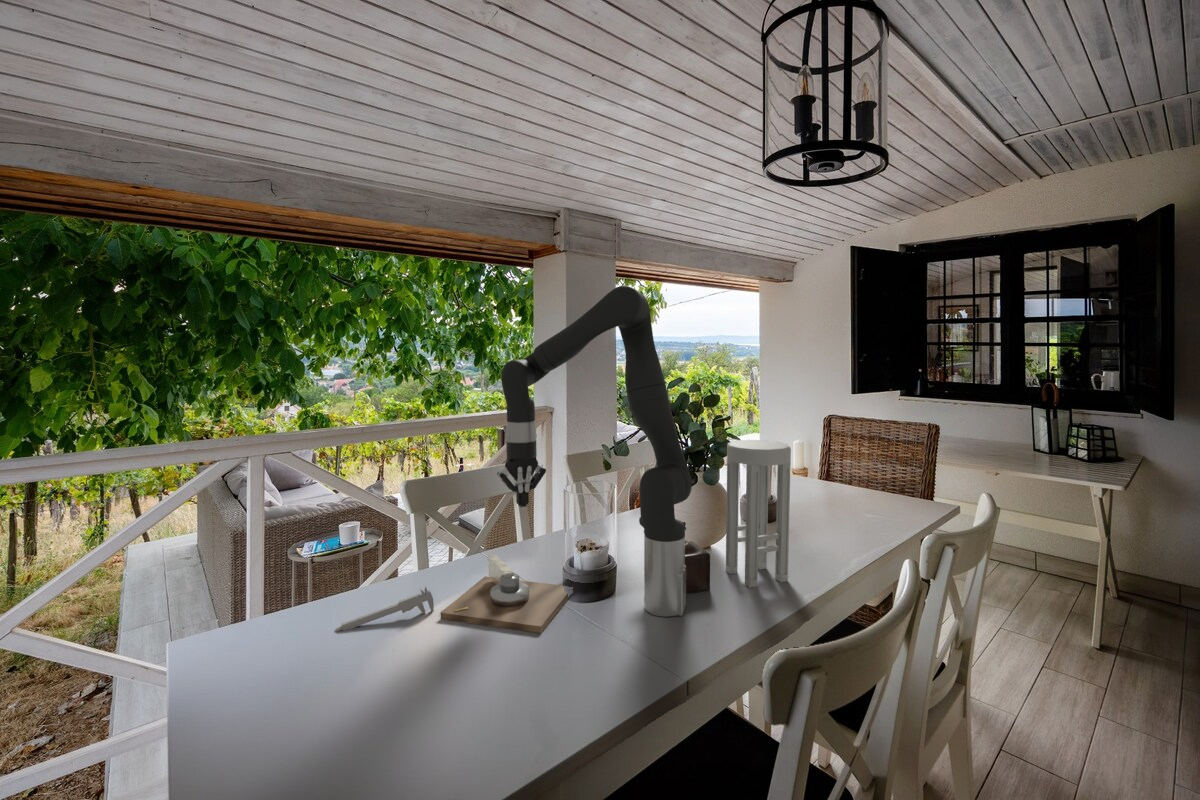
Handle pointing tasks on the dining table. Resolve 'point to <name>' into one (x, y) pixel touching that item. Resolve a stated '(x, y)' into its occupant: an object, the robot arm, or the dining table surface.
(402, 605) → the caliper
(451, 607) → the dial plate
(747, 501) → the stool
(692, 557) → the dark brown wooden box
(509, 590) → the beige bar and knob
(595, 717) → the dining table surface
